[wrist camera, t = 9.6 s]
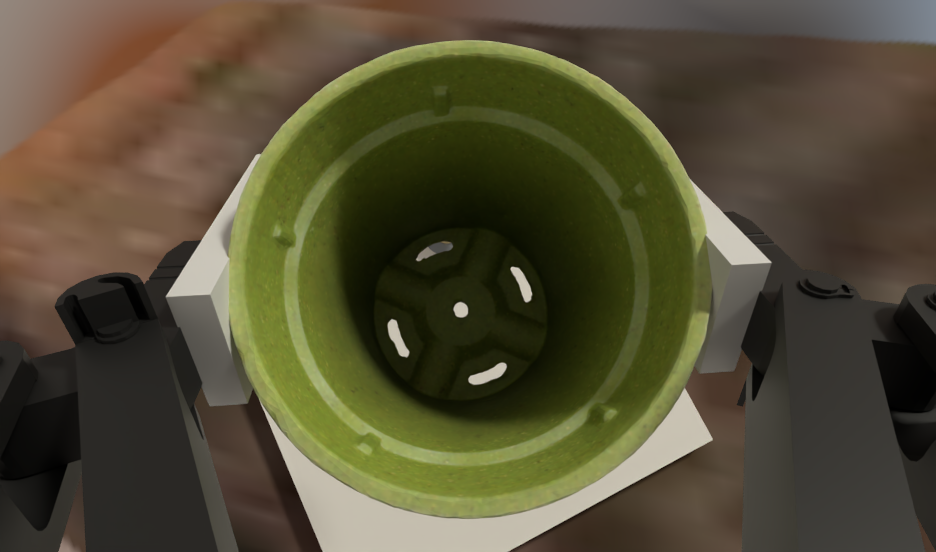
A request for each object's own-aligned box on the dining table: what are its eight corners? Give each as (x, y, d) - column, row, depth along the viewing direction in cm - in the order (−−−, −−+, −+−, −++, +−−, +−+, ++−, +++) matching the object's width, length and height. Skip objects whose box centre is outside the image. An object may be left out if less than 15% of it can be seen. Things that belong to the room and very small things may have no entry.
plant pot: (644, 378, 19) (805, 373, 10) (393, 507, 18) (342, 619, 9) (521, 146, 20) (574, -24, 12) (282, 252, 19) (152, 148, 11)
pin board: (532, 123, 36) (539, 102, 33) (703, 437, 33) (725, 442, 30) (210, 267, 33) (190, 257, 31) (360, 624, 30) (352, 647, 27)
